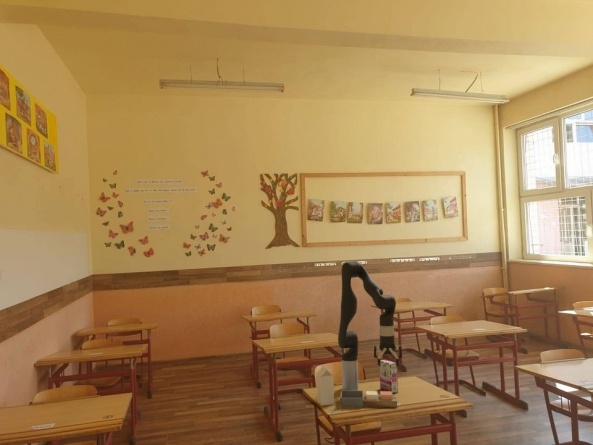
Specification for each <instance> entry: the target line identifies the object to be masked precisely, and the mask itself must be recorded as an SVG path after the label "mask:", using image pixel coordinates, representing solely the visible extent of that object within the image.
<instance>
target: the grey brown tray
mask: <svg viewBox="0 0 593 445" xmlns="http://www.w3.org/2000/svg"><path fill="white" fill-rule="evenodd" d="M392 395H393V400H381V397H380V393H378V400H374V399H366V393H365V394H364V393H363V408H398V400H397V396H396V394H392Z"/></svg>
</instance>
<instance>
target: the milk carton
mask: <svg viewBox="0 0 593 445" xmlns="http://www.w3.org/2000/svg"><path fill="white" fill-rule="evenodd" d="M334 384H335V383H334V375H333V374H332V373H331V369H329V368H327V367H326V366H324V365H322V366H321V368H320V370H318V371H317V372H316V398H317V400H316V402H317V403H318V404H319V405H320V406H321V407H322V406H330V405H331V406H332V405H335V391H334Z"/></svg>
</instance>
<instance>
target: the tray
mask: <svg viewBox="0 0 593 445" xmlns="http://www.w3.org/2000/svg"><path fill="white" fill-rule="evenodd" d="M363 394H364V393H363V390H359V389H358V390H343V389H342V390H340V399H339V400H340V408H362V409H363V408H364V402H363Z"/></svg>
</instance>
